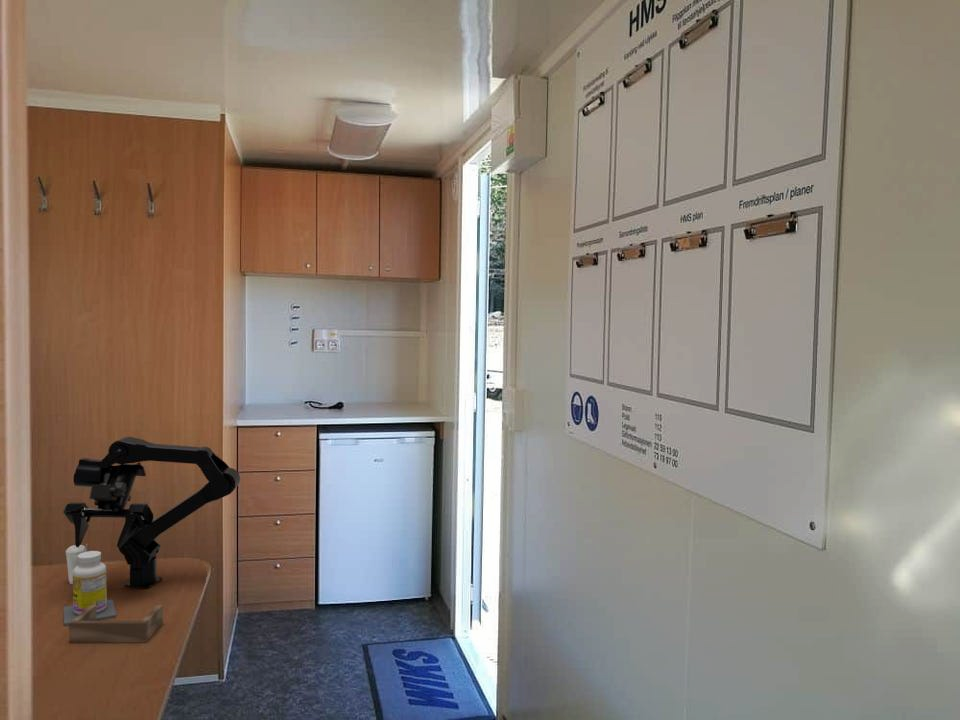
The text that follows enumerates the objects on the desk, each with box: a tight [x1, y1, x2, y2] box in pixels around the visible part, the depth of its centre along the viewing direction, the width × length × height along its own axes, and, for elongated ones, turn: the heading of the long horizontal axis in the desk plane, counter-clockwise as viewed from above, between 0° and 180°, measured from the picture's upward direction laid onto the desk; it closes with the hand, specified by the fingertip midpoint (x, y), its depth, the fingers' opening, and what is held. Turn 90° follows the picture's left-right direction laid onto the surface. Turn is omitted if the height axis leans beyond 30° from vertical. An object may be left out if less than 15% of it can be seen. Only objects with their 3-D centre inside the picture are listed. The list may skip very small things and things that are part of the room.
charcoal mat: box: [63, 598, 117, 627], centre depth 163 cm, size 10×10×1 cm
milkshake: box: [65, 542, 89, 585], centre depth 181 cm, size 4×5×10 cm
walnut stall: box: [68, 604, 164, 643], centre depth 154 cm, size 9×15×4 cm, turn 93°
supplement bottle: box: [72, 550, 108, 615], centre depth 163 cm, size 7×7×13 cm
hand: (97, 546), depth 167 cm, fingers open, 9 cm apart
